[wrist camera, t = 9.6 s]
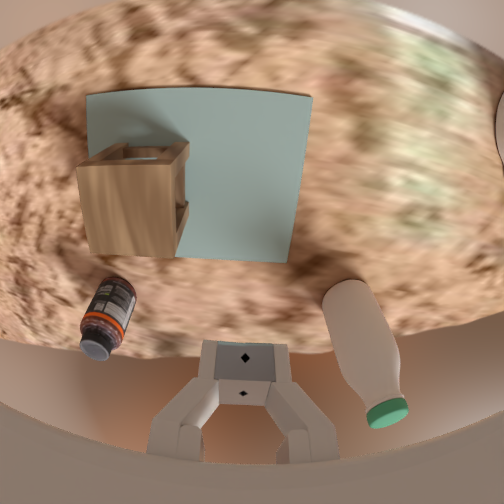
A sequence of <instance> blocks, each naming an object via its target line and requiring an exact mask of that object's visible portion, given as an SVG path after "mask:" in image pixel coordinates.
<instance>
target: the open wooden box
mask: <svg viewBox="0 0 504 504" xmlns="http://www.w3.org/2000/svg"><path fill="white" fill-rule="evenodd" d="M189 152H190V142H174V143H173V144H172V145H171V146H134V147H129V144H128V143H115V144H113V145H111V146H110V147H108V148H106V149H104V150H103V151H101V152H99V153H98V154H96V155H94V156H93V157H91V158H89V159H88V160H86V161H84V162H83V163H81V164H80V165H78V166H77V167H76V173H77V181H78V189H79V195H80V202H81V208H82V214H83V219H84V225H85V230H86V235H87V240H88V244H89V249H90V253H98V254H112V255H127V256H142V257H157V258H173V259H174V257H175V254H176V251H177V248H178V245H179V242H180V239H181V236H182V233H183V231H184V228H185V225H186V222H187V219H188V217H189V202H185V162H186V161H187V160H188V158H189ZM127 158H157V159H139V160H125V159H127Z"/></svg>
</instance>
